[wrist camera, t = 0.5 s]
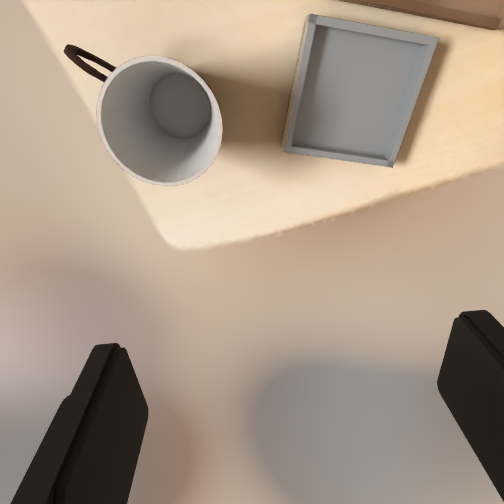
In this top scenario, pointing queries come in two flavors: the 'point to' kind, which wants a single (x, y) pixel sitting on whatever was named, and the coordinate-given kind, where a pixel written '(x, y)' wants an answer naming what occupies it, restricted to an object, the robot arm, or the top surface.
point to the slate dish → (354, 90)
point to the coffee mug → (155, 118)
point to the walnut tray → (448, 10)
